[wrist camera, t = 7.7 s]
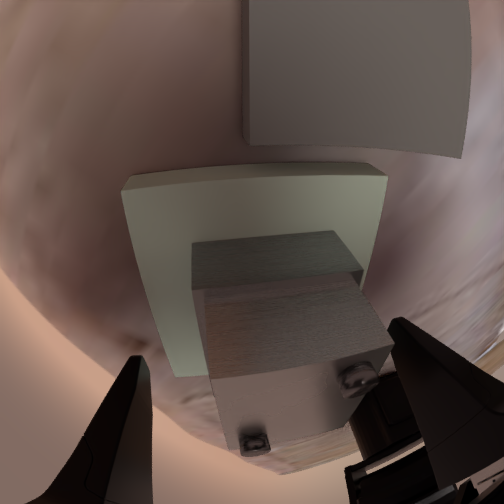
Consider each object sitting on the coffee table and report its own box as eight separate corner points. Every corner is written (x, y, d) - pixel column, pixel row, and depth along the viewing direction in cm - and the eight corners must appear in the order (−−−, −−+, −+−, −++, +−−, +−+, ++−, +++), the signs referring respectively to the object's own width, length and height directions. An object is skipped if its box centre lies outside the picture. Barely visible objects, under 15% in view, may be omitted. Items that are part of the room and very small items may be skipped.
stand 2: (331, 333, 16) (340, 353, 15) (175, 355, 15) (175, 377, 14) (368, 163, 10) (388, 176, 9) (130, 175, 9) (120, 191, 8)
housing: (333, 230, 10) (418, 347, 6) (312, 338, 13) (351, 437, 9) (191, 242, 9) (195, 394, 5) (209, 353, 13) (223, 464, 8)
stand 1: (439, 148, 10) (460, 159, 9) (242, 137, 9) (249, 146, 8) (440, -37, 5) (461, -41, 4) (242, -96, 4) (248, -114, 2)
